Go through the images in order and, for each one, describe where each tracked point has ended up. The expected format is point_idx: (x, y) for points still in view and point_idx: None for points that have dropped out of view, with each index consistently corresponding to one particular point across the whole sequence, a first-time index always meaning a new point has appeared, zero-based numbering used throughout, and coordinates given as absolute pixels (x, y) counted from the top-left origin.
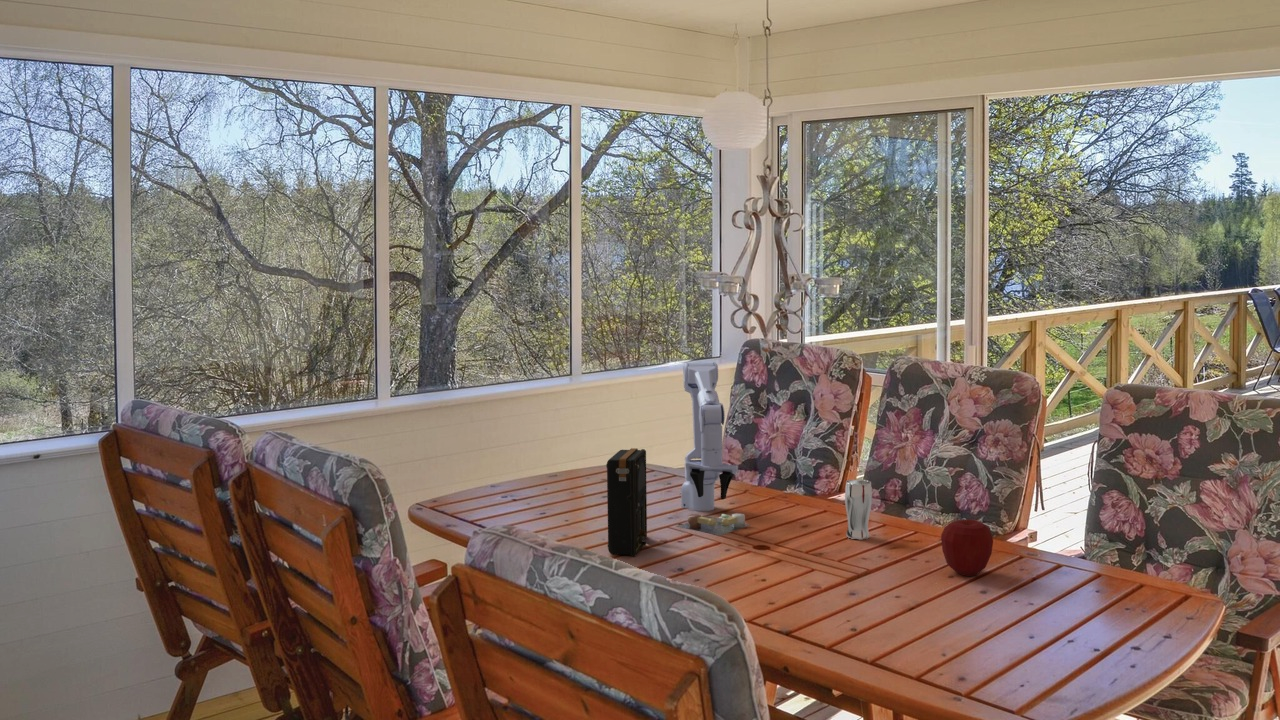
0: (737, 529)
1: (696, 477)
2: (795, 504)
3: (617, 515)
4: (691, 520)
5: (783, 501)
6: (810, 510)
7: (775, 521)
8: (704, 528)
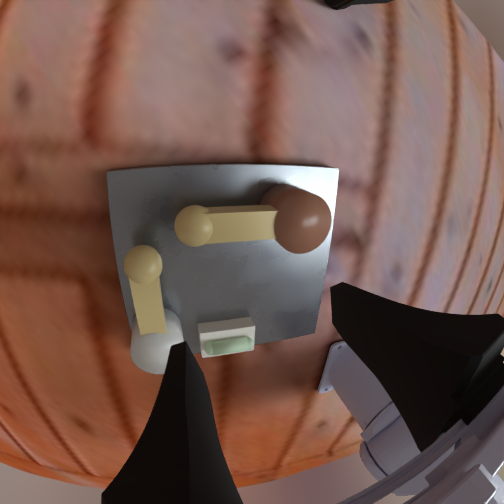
0: (122, 291)
1: (451, 340)
2: None
3: None
4: (294, 190)
5: (248, 471)
6: None
7: None
8: None
